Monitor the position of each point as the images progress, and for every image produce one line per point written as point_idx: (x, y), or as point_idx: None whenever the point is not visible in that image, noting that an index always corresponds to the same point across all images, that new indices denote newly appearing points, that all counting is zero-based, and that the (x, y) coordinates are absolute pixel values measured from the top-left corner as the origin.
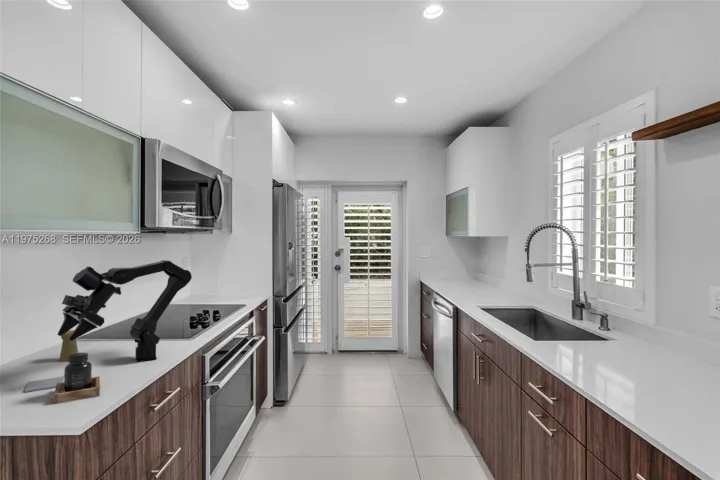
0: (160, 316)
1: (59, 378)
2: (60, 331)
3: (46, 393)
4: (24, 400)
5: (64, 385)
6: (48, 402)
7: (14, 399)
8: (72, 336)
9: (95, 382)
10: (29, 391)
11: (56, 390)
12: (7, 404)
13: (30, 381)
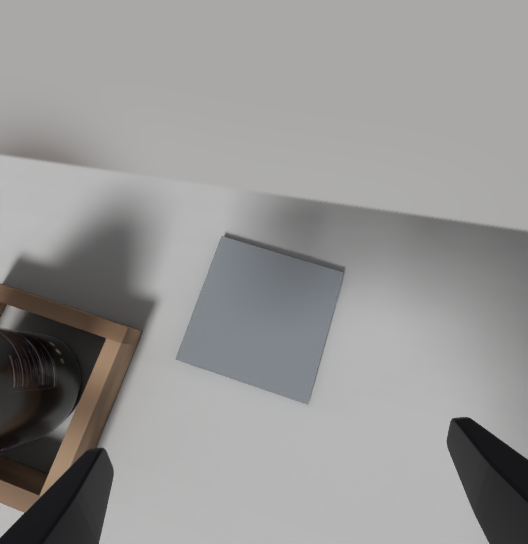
0: None
1: (287, 380)
2: (476, 458)
3: (145, 294)
4: (133, 222)
5: (13, 329)
6: (36, 275)
7: (174, 201)
8: (53, 491)
9: None
10: (217, 252)
11: (22, 298)
12: (140, 177)
13: (339, 277)
